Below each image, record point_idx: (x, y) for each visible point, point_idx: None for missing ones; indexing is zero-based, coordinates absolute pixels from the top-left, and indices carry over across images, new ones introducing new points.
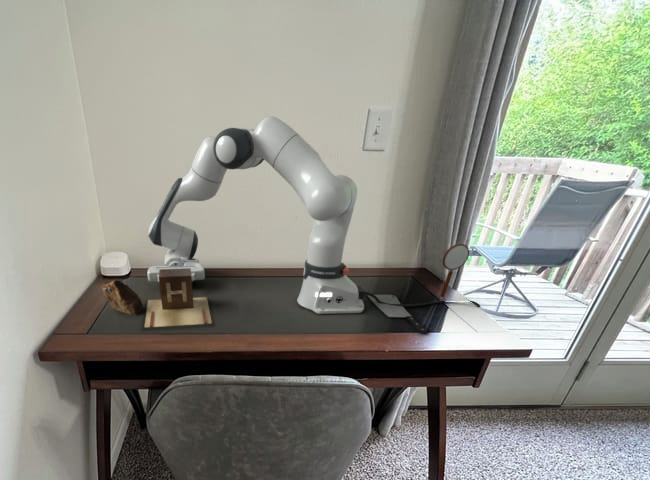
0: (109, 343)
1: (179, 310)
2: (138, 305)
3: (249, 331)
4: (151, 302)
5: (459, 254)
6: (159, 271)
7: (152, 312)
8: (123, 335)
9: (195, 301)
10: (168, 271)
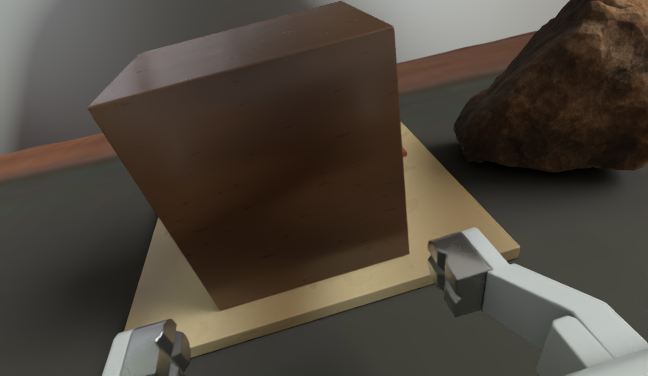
0: (437, 66)
1: None
2: (462, 116)
3: (86, 169)
4: (471, 224)
5: None
6: (372, 17)
7: None
8: (426, 85)
9: (204, 289)
10: (297, 34)
